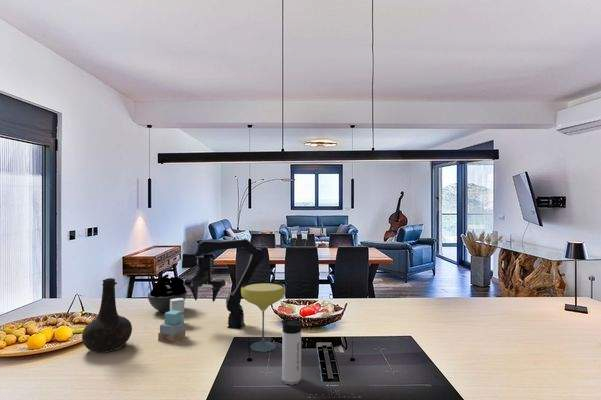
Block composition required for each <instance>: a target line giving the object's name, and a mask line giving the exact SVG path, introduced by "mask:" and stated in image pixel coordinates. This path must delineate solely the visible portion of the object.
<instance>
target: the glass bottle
mask: <svg viewBox="0 0 601 400" xmlns="http://www.w3.org/2000/svg"><path fill="white" fill-rule="evenodd" d="M117 284H118V282H117V281H116V279H115V278H113V277H111V278H110V277H109V278H104V279H103V280H102V284H101V285H102V293H101V301H100V307H99V311H98V314H97V316H96V317H95V318H94V319H93V320H92V321H90V322H88V324H86V325H85V327H84V329H83V330H82V334H81V340H82V343H83V345H84V347H86V349H88V351H91V352H93V353H108V352H109V353H110V352H113V351H116V350H119V349H120V348H122V347H123V346H124V345H125V344H126V343H127V342H128V341H129V340H130V337H131V336H132V331H133V326H132V323H131V321H130V320H129V319H128V318H126V317H125V316H123V315H119V313H118V311H117V304H116V302H117V301H116V286H115V285H117Z"/></svg>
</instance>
